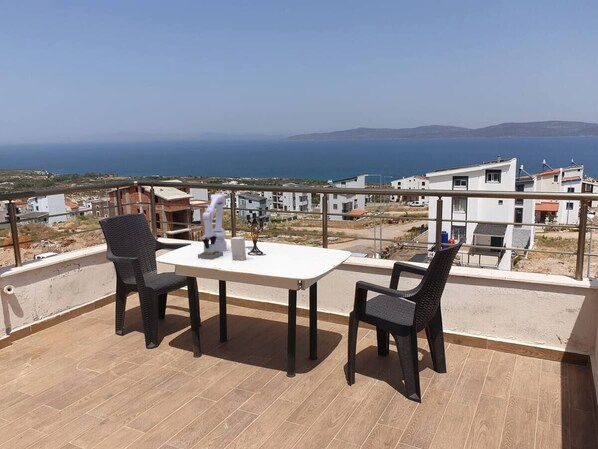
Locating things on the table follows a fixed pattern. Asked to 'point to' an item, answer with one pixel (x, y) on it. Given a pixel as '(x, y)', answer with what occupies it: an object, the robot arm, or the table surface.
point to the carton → (210, 248)
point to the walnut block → (209, 253)
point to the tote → (210, 256)
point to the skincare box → (238, 248)
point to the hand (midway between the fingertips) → (210, 247)
